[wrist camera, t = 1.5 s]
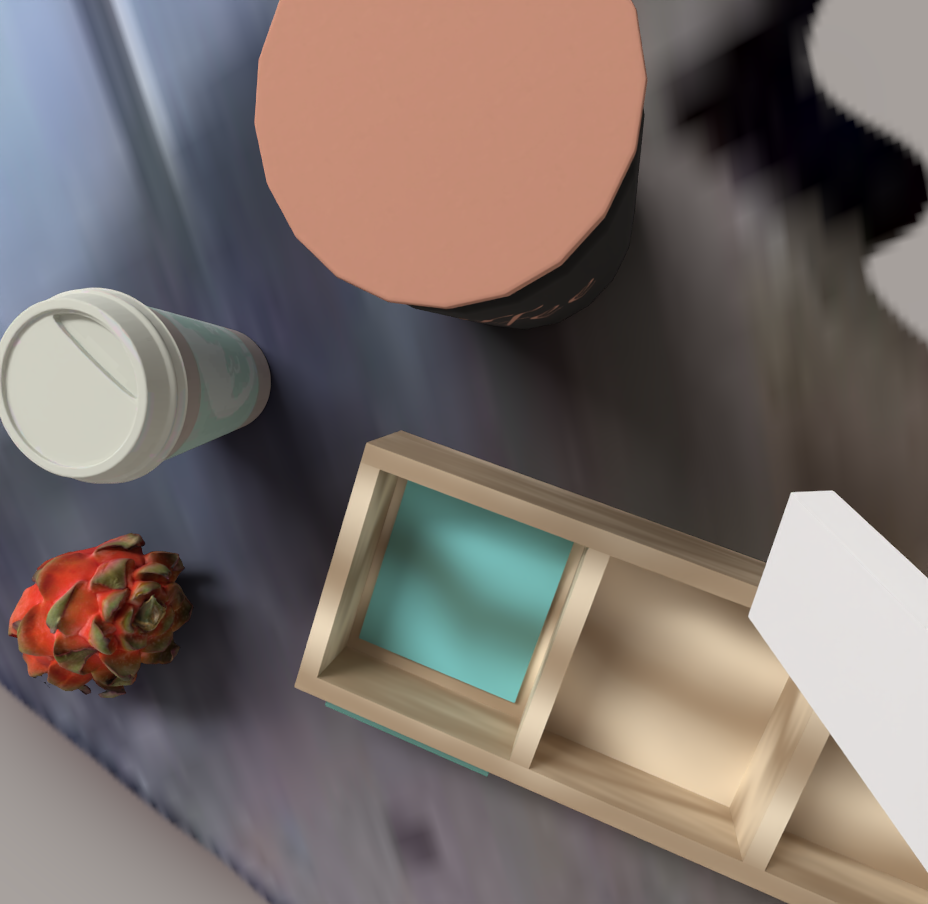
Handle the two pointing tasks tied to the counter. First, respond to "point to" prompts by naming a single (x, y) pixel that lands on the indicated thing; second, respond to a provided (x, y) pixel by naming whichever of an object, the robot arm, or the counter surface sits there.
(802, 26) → the counter surface
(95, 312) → the coffee cup
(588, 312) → the counter surface
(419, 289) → the coffee jar
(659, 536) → the wooden compartment tray
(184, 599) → the dragon fruit
